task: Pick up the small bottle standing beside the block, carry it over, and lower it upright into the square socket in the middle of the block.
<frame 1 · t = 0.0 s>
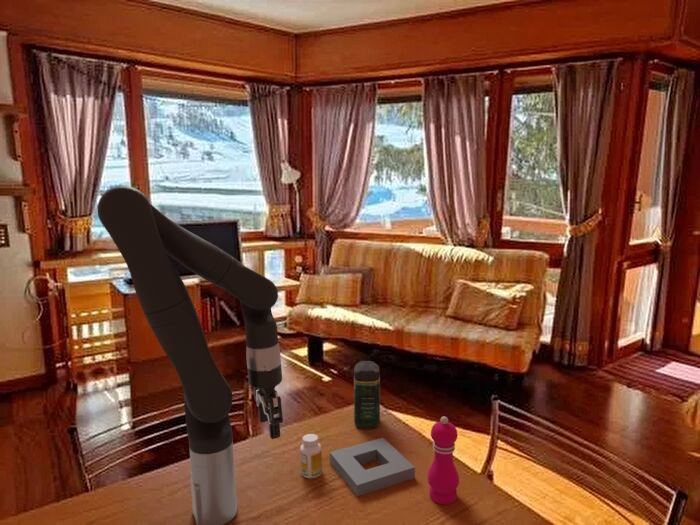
hand: (269, 429, 117), 17 cm above the table, tool pointing down, fingers open, 8 cm apart
coffee jar: (367, 422, 155), on the table
pepper mill: (442, 496, 119), on the table
supplement bottle: (311, 473, 129), on the table
socket block: (371, 470, 130), on the table
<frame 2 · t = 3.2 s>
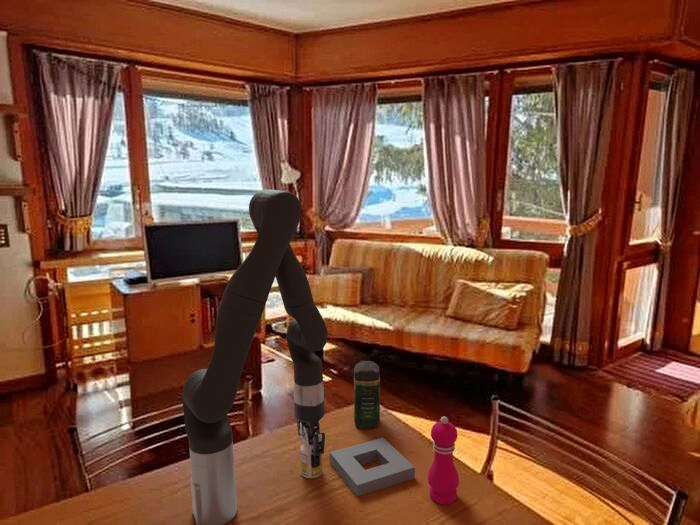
hand: (311, 460, 129), 3 cm above the table, tool pointing down, fingers closed on supplement bottle, 5 cm apart
supplement bottle: (311, 473, 129), on the table, touching gripper
everything else where it was.
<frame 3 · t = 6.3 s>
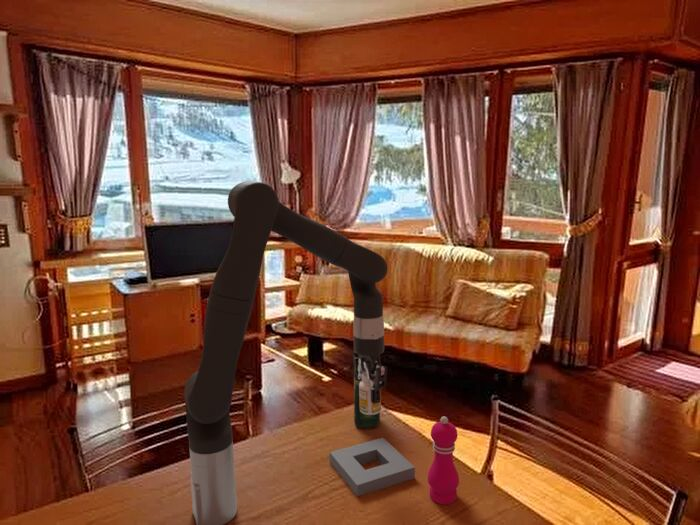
hand: (369, 397, 127), 20 cm above the table, tool pointing down, fingers closed on supplement bottle, 5 cm apart
supplement bottle: (370, 411, 127), point 16 cm above the table, touching gripper
everything else where it was.
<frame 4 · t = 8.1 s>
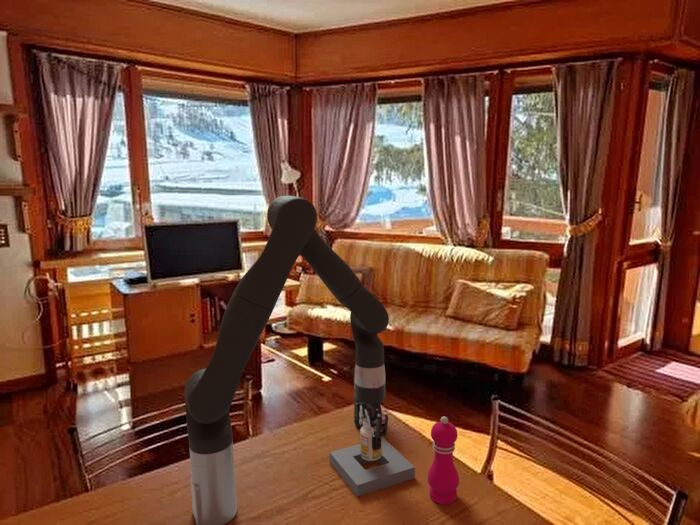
hand: (370, 443, 129), 8 cm above the table, tool pointing down, fingers closed on supplement bottle, 5 cm apart
supplement bottle: (371, 456, 129), point 4 cm above the table, touching gripper
everything else where it was.
when the fingers open (5 cm above the table, at t = 9.5 s): supplement bottle drops 1 cm, resting in socket block.
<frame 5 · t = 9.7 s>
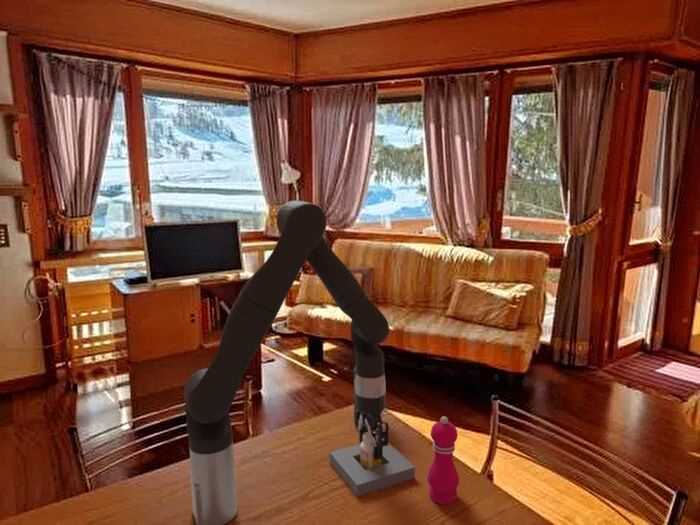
hand: (370, 451, 129), 5 cm above the table, tool pointing down, fingers open, 7 cm apart
supplement bottle: (370, 470, 130), resting in socket block
everything else where it was.
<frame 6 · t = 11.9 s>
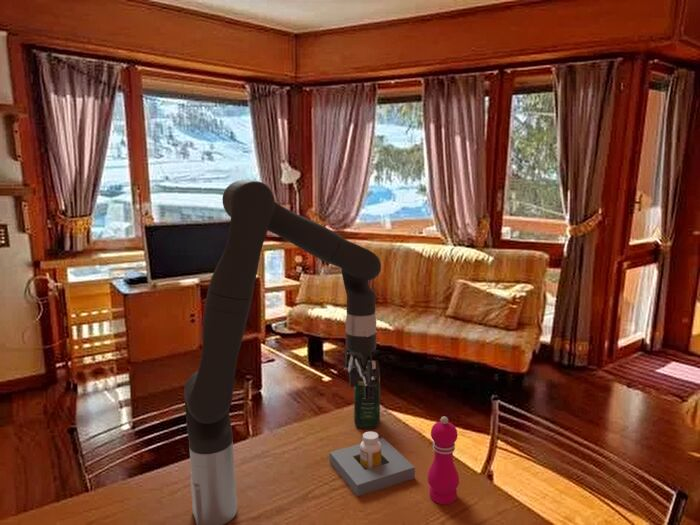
hand: (361, 392, 127), 21 cm above the table, tool pointing down, fingers open, 8 cm apart
nothing on the table moved.
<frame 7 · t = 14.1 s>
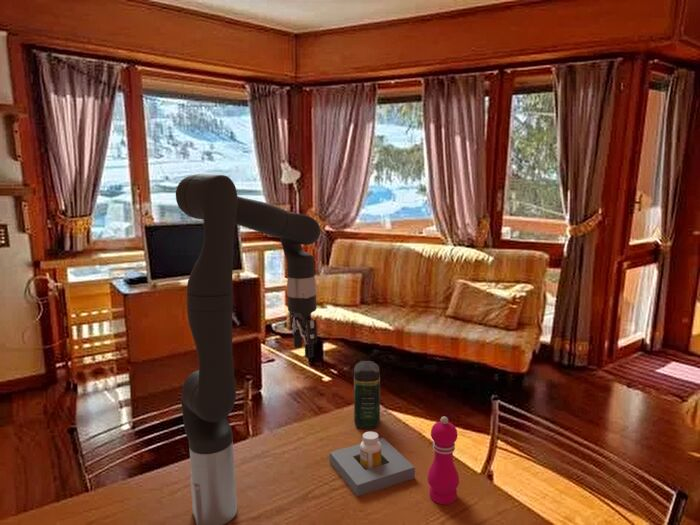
hand: (303, 352, 135), 28 cm above the table, tool pointing down, fingers open, 8 cm apart
nothing on the table moved.
at the end: supplement bottle 0.1 cm off-centre on the socket block, point 0.0 cm above the socket block's base; supplement bottle tilted 0°; the gripper is holding nothing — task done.
